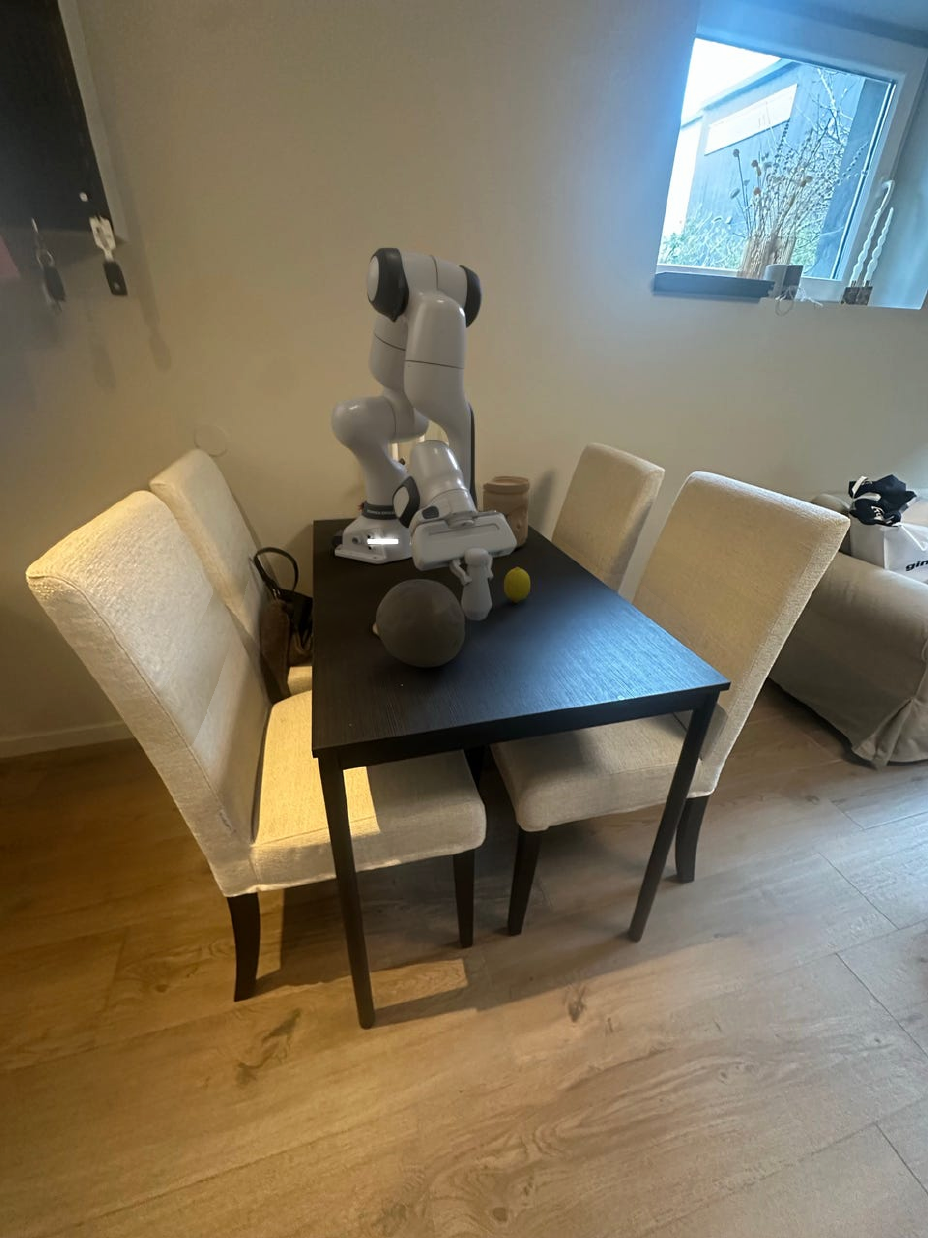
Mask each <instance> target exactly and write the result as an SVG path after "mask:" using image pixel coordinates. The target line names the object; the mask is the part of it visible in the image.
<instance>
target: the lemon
mask: <svg viewBox="0 0 928 1238" xmlns="http://www.w3.org/2000/svg"><path fill="white" fill-rule="evenodd" d="M503 590H504V593H505V596H506V597H507V598H508V599H509V600H511V601H513V602H514V603H519V602H520V601H523V600H525V599H526V598H527V597H528V595H529V593H530V591H531V579H530V575H529V574H528V572H527V571H525V570H524V569H523V568H520V567H519V566H516V567H515V568H513V569H510V570H509V571H508V572H507V573H506V575H505V577H504V581H503Z"/></svg>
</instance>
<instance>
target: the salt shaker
mask: <svg viewBox="0 0 928 1238" xmlns="http://www.w3.org/2000/svg"><path fill="white" fill-rule="evenodd" d="M488 561H489V555H488V552H487V551H486V550H484V549H481V548H473V549H469V550H468V551H467V552H466V553H465V562H466V563H465V564H467V567H466V571H465V572H466V573H469V577H470V578H471V579H472V582H470V583H469V584H468V585H464V586H463V591H462V595H461V600H460V606H461V608H462V610H463V613H464V616H466V618H467V619H468V620H472V621H481V620H485V619H487V617H488V614H489V613H490V610H491V609H492V608H493V607H492V606H493V601H492V597H491V591H490V586H489V580H487V575H486V568H485V564H487V563H488Z"/></svg>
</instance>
